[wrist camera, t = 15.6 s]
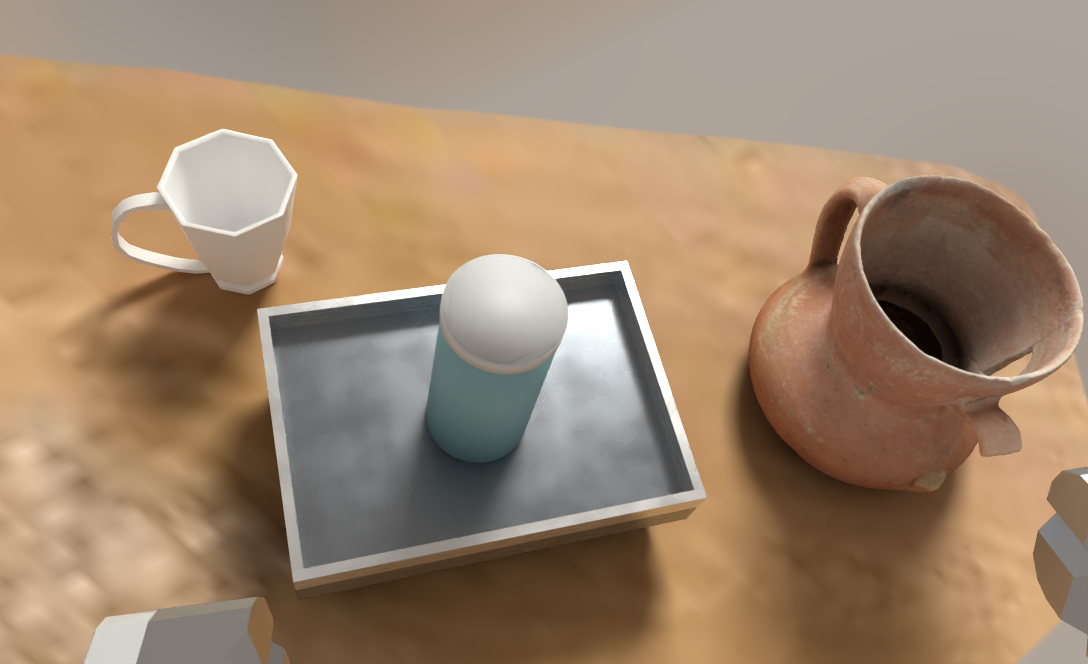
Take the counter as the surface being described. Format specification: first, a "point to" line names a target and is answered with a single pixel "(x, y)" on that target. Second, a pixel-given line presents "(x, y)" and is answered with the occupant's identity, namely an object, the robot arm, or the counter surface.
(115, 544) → the counter surface
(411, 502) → the shallow tray
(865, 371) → the ceramic jug
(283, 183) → the cup
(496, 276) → the tin
